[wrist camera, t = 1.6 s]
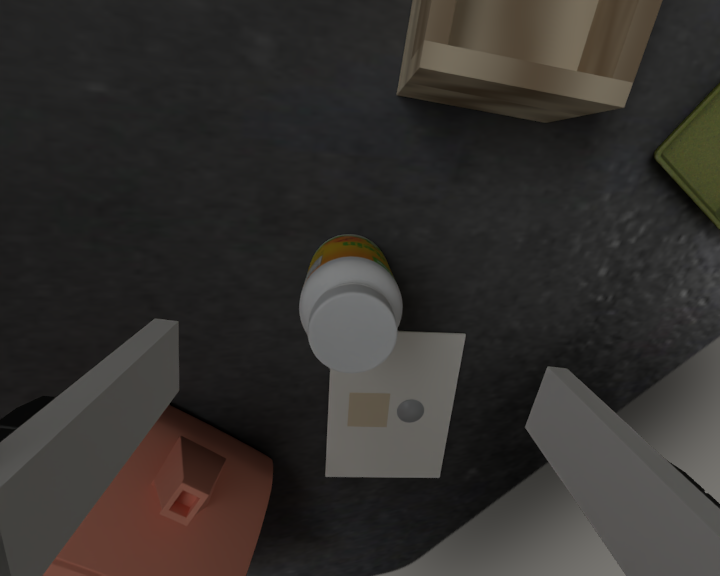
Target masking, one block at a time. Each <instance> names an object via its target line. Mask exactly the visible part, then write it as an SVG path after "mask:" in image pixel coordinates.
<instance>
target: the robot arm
mask: <svg viewBox="0 0 720 576" xmlns="http://www.w3.org/2000/svg"><path fill="white" fill-rule="evenodd" d="M178 392H179V321H171V320H163V319H154V320H152V321H151V322H150V323H149V324H147V325H146V326H145V327H144V328H142V329H141V330H140V331H139V332H137V333H136V334H135V335H134V336H132V337H131V338H130V339H129V340H127V341H126V342H125V343H124V344H122V345H121V346H120V347H119V348H117V349H116V350H115V351H114V352H112V353H111V354H110V355H109V356H107V357H106V358H105V359H104V360H102V361H101V362H100V363H99V364H97V365H96V366H95V367H94V368H92V369H91V370H90V371H89V372H87V373H86V374H85V375H84V376H82V377H81V378H80V379H79V380H77V381H76V382H75V383H74V384H72V385H71V386H70V387H69V388H67V389H66V390H65V391H64V392H62V393H61V394H60V395H59V396H57V397H49V396H42V397H40V398H38V399H35V400H33V401H31V402H29V403H27V404H25V405H22V406H20V407H18V408H16V409H15V410H13V411H12V412H10V413H9V414H8V415H6V416H5V417H4V418H2V419H1V420H0V576H42V575H43V574H44V573H45V571H46V570H47V569H48V567H49V566H50V565H51V563H52V562H53V561H54V559H55V558H56V557H57V555H58V554H59V552H60V551H61V550H62V548H63V547H64V546H65V544H66V543H67V542H68V540H69V539H70V538H71V536H72V535H73V534H74V532H75V531H76V529H77V528H78V527H79V525H80V524H81V523H82V521H83V520H84V519H85V517H86V516H87V515H88V513H89V512H90V511H91V509H92V508H93V507H94V505H95V504H96V502H97V501H98V500H99V498H100V497H101V496H102V494H103V493H104V492H105V490H106V489H107V488H108V486H109V485H110V484H111V482H112V481H113V479H114V478H115V477H116V475H117V474H118V473H119V471H120V470H121V469H122V467H123V466H124V465H125V463H126V462H127V461H128V459H129V458H130V457H131V455H132V454H133V452H134V451H135V450H136V448H137V447H138V446H139V444H140V443H141V442H142V440H143V439H144V438H145V436H146V435H147V434H148V432H149V431H150V429H151V428H152V427H153V425H154V424H155V423H156V421H157V420H158V419H159V417H160V416H161V415H162V413H163V412H164V411H165V409H166V408H167V407H168V405H169V404H170V402H171V401H172V400H173V398H174V397H175V396H176V394H177V393H178ZM525 428H526V430H527V431H528V433H529V434H530V435H531V437H532V438H533V440H534V441H535V443H536V444H537V446H538V447H539V449H540V450H541V452H542V453H543V454H544V456H545V457H546V459H547V460H548V462H549V463H550V465H551V466H552V468H553V469H554V471H555V472H556V474H557V475H558V476H559V478H560V479H561V481H562V482H563V484H564V485H565V487H566V488H567V489H568V491H569V492H570V494H571V495H572V497H573V498H574V500H575V501H576V503H577V504H578V506H579V507H580V509H581V510H582V512H583V513H584V515H585V516H586V517H587V519H588V520H589V522H590V523H591V525H592V526H593V528H594V529H595V531H596V532H597V534H598V535H599V537H600V538H601V539H602V541H603V542H604V544H605V545H606V546H607V548H608V549H609V551H610V552H611V554H612V556H613V557H614V558H615V560H616V561H617V563H618V564H619V566H620V567H621V569H622V570H623V572H624V573H625V575H626V576H720V504H719V503H718V502H717V501H716V500H715V499H714V498H713V497H712V496H711V495H709V494H708V493H705V492H704V491H705V490H704V489H703V488H702V487H701V486H700V485H698V484H697V483H696V482H695V481H694V480H693V479H692V478H691V477H689V476H688V475H687V474H686V473H685V472H684V471H682V470H681V469H679V468H678V467H676V466H675V465H673V464H672V463H670V462H669V461H667V460H666V459H665V458H664V457H663V456H662V455H660V454H659V453H658V452H657V451H656V450H655V449H654V448H653V447H652V446H651V445H650V444H649V443H647V442H646V441H645V440H644V439H643V438H642V437H641V436H640V435H639V434H638V433H637V432H635V431H634V430H633V429H632V428H631V427H630V426H629V425H628V424H627V423H626V422H625V421H624V420H622V419H621V418H620V417H619V416H618V415H617V414H616V413H615V412H614V411H613V410H612V409H610V408H609V407H608V406H607V405H606V404H605V403H604V402H603V401H602V400H601V399H600V398H599V397H597V396H596V395H595V394H594V393H593V392H592V391H591V390H590V389H589V388H588V387H587V386H585V385H584V384H583V383H582V382H581V381H580V380H579V379H578V378H577V377H576V376H575V375H574V374H572V373H571V372H570V371H569V370H568V369H566V368H557V367H549V366H548V367H547V369H546V372H545V375H544V377H543V380H542V383H541V385H540V388H539V391H538V394H537V396H536V399H535V402H534V404H533V407H532V410H531V412H530V415H529V418H528V420H527V423H526V426H525Z"/></svg>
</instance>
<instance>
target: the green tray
mask: <svg viewBox="0 0 720 576" xmlns="http://www.w3.org/2000/svg"><path fill="white" fill-rule="evenodd" d="M654 159H655V160H656V161H657V162H658V163H659V164H660V165H661V166H662V168H663V169H664V170H665V171H666V172H667V173H668V174H669V175H670V176H671V177H672V179H673V180H674V181H675V182H676V183H677V184H678V185H679V186H680V187H681V188H682V189H683V191H684V192H685V193H686V194H687V195H688V196H689V197H690V198H691V199H692V200H693V201H694V202H695V204H696V205H697V206H698V207H699V208H700V209H701V210H702V211H703V212H704V213H705V215H706V216H707V217H708V218H709V219H710V220H711V221H712V222H713V224H714V225H715V226H716V227H717V228H718V229H719V230H720V83H719V84H718V85H717V86H716V87H715V88H714V89H713V90H712V91H711V92H710V93H709V94H708V95H707V96H706V97H705V99H704V100H703V101H702V102H701V103H700V104H699V105H698V106H697V107H696V108H695V109H694V110H693V111H692V112H691V113H690V114H689V115H688V116H687V117H686V118H685V120H684V121H683V122H682V123H681V124H680V125H679V126H678V127H677V128H676V129H675V130H674V131H673V132H672V133H671V134H670V135H669V136H668V137H667V138H666V139H665V141H664V142H663V143H662V144H661V145H660V146H659V147H658V148H657V149H656V150H655V152H654Z"/></svg>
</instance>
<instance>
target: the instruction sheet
mask: <svg viewBox="0 0 720 576" xmlns="http://www.w3.org/2000/svg"><path fill="white" fill-rule="evenodd" d="M465 336H466V334H465V333H441V332H416V331H398V332H397V340H396V344H395V346H394V349H393V351H392V352H391V354H390V355H389V356H388V358H387V359H386V360H385V361H384V362H383V363H381V364H380V365H378V366H377V367H375V368H373V369H371V370H369V371H365V372H361V373H343V372H338V371H335V370H333V369H331V368H330V383H329V405H328V427H327V449H326V471H325V477H398V478H440V473H441V467H442V462H443V456H444V451H445V445H446V440H447V435H448V429H449V424H450V418H451V413H452V407H453V402H454V396H455V391H456V386H457V380H458V375H459V369H460V364H461V358H462V353H463V347H464V342H465Z"/></svg>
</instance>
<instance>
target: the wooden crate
mask: <svg viewBox="0 0 720 576" xmlns="http://www.w3.org/2000/svg"><path fill="white" fill-rule="evenodd" d="M661 3H662V0H413V1H412V7H411V13H410V19H409V25H408V31H407V37H406V43H405V49H404V55H403V61H402V66H401V72H400V78H399V84H398V90H397V95H399V96H404V97H409V98H415V99H420V100H425V101H431V102H436V103H441V104H447V105H452V106H458V107H463V108H468V109H474V110H479V111H484V112H490V113H495V114H500V115H506V116H511V117H517V118H522V119H527V120H533V121H538V122H543V123H548V122H553V121H558V120H563V119H568V118H573V117H579V116H584V115H589V114H594V113H599V112H604V111H609V110H614V109H619V108H624V107H625V104H626V101H627V98H628V95H629V93H630V90H631V87H632V84H633V81H634V79H635V76H636V73H637V70H638V67H639V65H640V62H641V59H642V56H643V53H644V51H645V48H646V45H647V42H648V39H649V37H650V34H651V31H652V28H653V25H654V23H655V20H656V17H657V14H658V11H659V9H660V6H661Z"/></svg>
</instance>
